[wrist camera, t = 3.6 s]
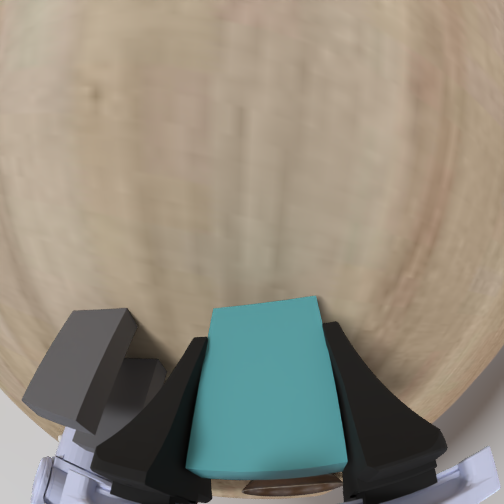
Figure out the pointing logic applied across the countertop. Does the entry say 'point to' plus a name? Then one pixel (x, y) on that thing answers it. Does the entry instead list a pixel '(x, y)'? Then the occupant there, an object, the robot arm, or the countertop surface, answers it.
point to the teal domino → (266, 396)
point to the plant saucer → (293, 486)
